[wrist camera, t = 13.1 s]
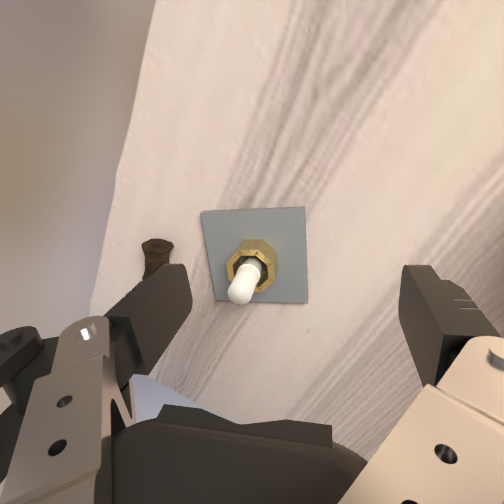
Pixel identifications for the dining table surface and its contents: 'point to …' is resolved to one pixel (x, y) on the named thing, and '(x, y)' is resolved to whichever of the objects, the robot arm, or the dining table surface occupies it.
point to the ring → (262, 252)
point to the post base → (271, 232)
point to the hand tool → (155, 255)
